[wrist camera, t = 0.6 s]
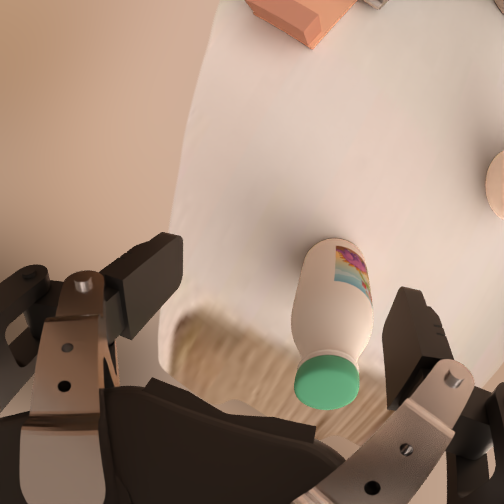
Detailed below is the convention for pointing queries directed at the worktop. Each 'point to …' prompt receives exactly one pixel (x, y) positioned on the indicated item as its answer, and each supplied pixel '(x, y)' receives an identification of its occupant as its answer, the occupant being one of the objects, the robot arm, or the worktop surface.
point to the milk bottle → (331, 323)
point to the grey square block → (376, 3)
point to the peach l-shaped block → (302, 16)
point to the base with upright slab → (496, 185)
